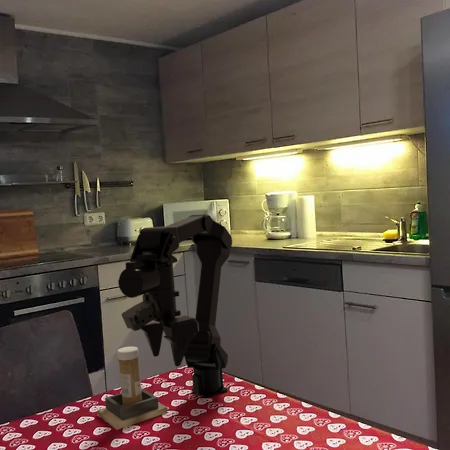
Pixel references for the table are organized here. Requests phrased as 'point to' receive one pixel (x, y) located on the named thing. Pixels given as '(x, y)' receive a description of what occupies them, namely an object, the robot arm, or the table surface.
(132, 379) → the sprinkles bottle
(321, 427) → the table surface
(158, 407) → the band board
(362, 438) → the table surface
